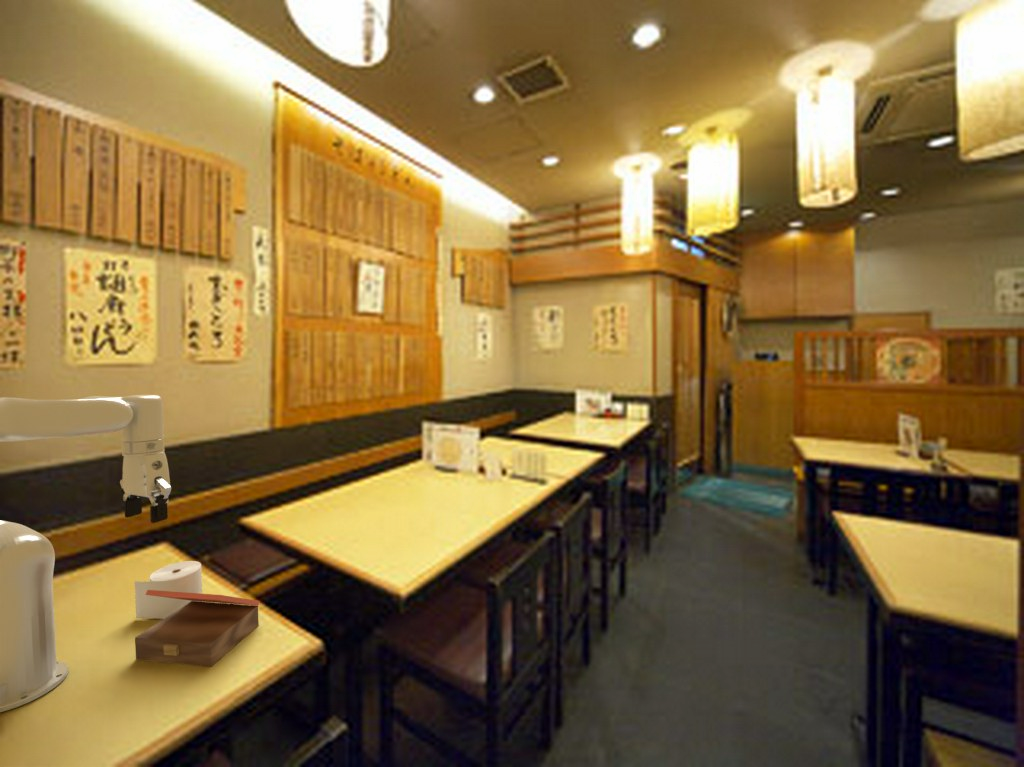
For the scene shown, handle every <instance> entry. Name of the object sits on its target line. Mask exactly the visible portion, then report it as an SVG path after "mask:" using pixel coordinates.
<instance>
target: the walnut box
mask: <svg viewBox="0 0 1024 767" xmlns="http://www.w3.org/2000/svg"><path fill="white" fill-rule="evenodd" d="M259 624H260V623H259V605H258V606H257V605H243V604H230V603H216V602H203V601H202V602H199V601H191V602H189V603H188V604H186V605H185V606H183V607H182V608H180V609H179V610H177V611H175V612H174V613H172V614H171V615H169V616H168V617H166V618H165V619H160V621H158V622H157V623H155V624H154V625H151V626H150V627H149V628H147V629H146V630H145V631H143V632H141V633H140V634H138V635H136V636H135V637H134V640H135V643H134V644H135V660H136V661H145V662H146V661H148V662H156V663H157V662H158V663H166V664H177V665H178V664H179V665H189V666H201V667H211V668H212V667H213V666H214V665H215V664H216V663H217V662H218V661H219V660H221V659H222V658H223V657H224V656H225V655H226V654H228V653H229V652H230V651H232V649H234V647H236V646H237V645H238V644H239V643H240V642H241V641H242V640H243V639H245V638H246V637H247V636H249V634H251V633H252V632H253V631H254V630H256V628H258V627H259V626H260V625H259Z"/></svg>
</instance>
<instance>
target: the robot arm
mask: <svg viewBox="0 0 1024 767" xmlns="http://www.w3.org/2000/svg"><path fill="white" fill-rule="evenodd" d="M164 425H165V423H164V401H163V399H162V397H161V396H160V395H157V394H134V395H126V396H102V395H91V396H86V397H82V398H80V399H79V398H77V399H73V398H72V399H36V398H35V399H32V398H22V397H21V398H20V397H9V396H8V397H7V396H6V397H5V396H3V397H2V396H1V397H0V443H1V442H3V443H4V442H21V441H30V440H42V439H55V438H56V439H57V438H59V439H60V438H72V437H82V436H90V435H91V436H92V435H93V436H95V435H102V434H103V435H104V434H110V433H111V434H112V433H116V432H119V431H120V432H121V454H122V455H121V456H122V457H123V458H122V459H123V462H122V479H120V481H119V484H120V487H121V493H122V494H123V496H122V500H123V501H124V502H123V504H124V508H123V509H124V518H131V517H134V516H138V515H139V516H140V515H141V514H142V513H143V507H142V503H143V502H142V498H148V499H149V501H150V503H151V505H150V506H149V509H150V510H149V511H150V512H149V513H150V515H149V516H150V523H151V524H155V523H159V522H162V521H164V520H167V519H169V518H168V517H169V516H168V503H169V499H170V497H171V492H172V486H171V479H170V468H169V464H168V458H167V454H166V453H165V429H164V428H165V426H164ZM156 497H157V498H156ZM55 556H56V552H55V549H54V546H53V543H52V542H51V541H50V540H49V538H47V537H46V536H45V535H43V534H42V533H40V532H38V531H36V530H35V529H32V528H30V527H28V526H26V525H23V524H21V523H17V522H12V521H7V520H2V519H1V520H0V713H3V712H6V711H11V710H13V709H16V708H18V707H21V706H23V705H25V704H28V703H31V702H33V701H34V700H37V699H39V698H40V697H43V696H44V695H46V694H48V693H49V692H50V691H52V690H53V689H55V688H56V687H57V686H58V685H60V684H61V683H62V682H63V681H65V679H66V677H67V675H68V673H69V666H68V664H67V663H66V662H63V661H59V660H57V645H56V644H57V643H56V641H57V640H56V627H55V626H56V624H55V622H56V621H55V608H54V607H55V606H54V590H53V588H54V586H53V585H54V570H55V569H54V568H55V562H56V557H55Z"/></svg>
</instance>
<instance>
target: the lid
mask: <svg viewBox="0 0 1024 767" xmlns="http://www.w3.org/2000/svg"><path fill="white" fill-rule="evenodd" d="M145 595H151V596H159V597H167V598H174V599H182V600H190V601H202V602H213V603H227V604H240V605H254V606H258V607H259V604H260V600H256V599H249V598H243V597H235V596H230V595H222V594H210V593H202V594H199V593H185V592H171V591H157V590H147V592H146V594H145Z"/></svg>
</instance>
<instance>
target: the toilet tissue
mask: <svg viewBox="0 0 1024 767" xmlns="http://www.w3.org/2000/svg"><path fill="white" fill-rule="evenodd" d="M202 573H203V572H202V563H201V562H199V561H195V560H194V561H193V560H188V561H187V560H186V561H179V562H176V563H171V564H167V565H165V566H163V567H160V568H159V569H157V570H155V571H153V572H152V573H151V574H149V575H150V576H149V581H138V580H134V593H135V594H134V596H135V597H134V598H135V600H134V601H135V617H136V618H138V619H142V620H144V619H157V620H163V619H165V618H166V617H168V616H169V615H171V614H172V613H174V612H175V611H177V610H179V609H180V608H182V607H183V606H185V605H186V604H188V603H189V602H191V601H190V600H182V599H174V598H167V597H159V596H151V595H145V594H146V592H147V590H157V591H171V592H185V593H199V594H203V581H202V577H203V576H202ZM199 602H203V601H199Z"/></svg>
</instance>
